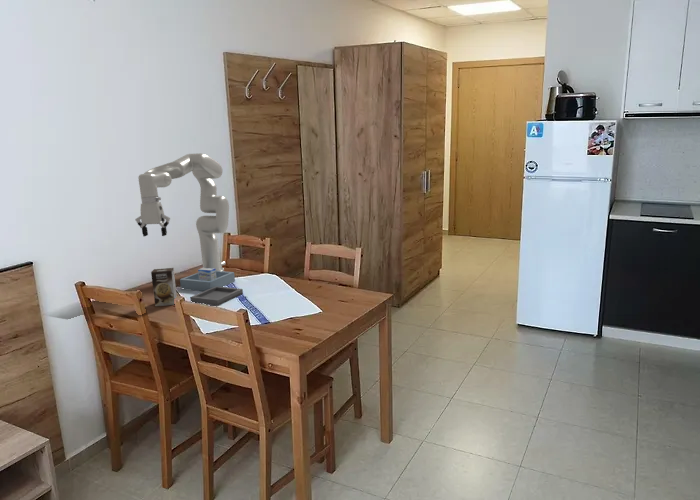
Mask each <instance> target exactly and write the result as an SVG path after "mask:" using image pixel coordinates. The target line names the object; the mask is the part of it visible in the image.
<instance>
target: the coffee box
mask: <svg viewBox="0 0 700 500" xmlns="http://www.w3.org/2000/svg"><path fill="white" fill-rule="evenodd" d="M174 269H175V268H174V267H167V268H154V269H153V270H151V271H150V275H151V283H152V290H153V298H154V305H155V306H154V307H163V306H174V299H175V298H176V297H177V288H176V278H175V270H174ZM177 298H178V297H177Z"/></svg>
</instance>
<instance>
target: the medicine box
mask: <svg viewBox="0 0 700 500" xmlns="http://www.w3.org/2000/svg"><path fill="white" fill-rule="evenodd" d="M197 273H198V274H199V280H202V281H211V280H214V279H216V269H213V268H203V267H201V268H199V269H197Z"/></svg>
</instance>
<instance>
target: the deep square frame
mask: <svg viewBox="0 0 700 500" xmlns="http://www.w3.org/2000/svg"><path fill="white" fill-rule="evenodd" d="M235 277H236V276H235V272H234V271H225V270H224V271H216V279H214V280H211V281H202V280H199V274H198V272H196V273H193V274H191V275H188V276H185V277H182V278H180V279H179V282H180V283H179V284H180V289H181V288H184V289H183V290H186V289H191V290H190V291H195V290H199V291H198V292H203V291H206V290H208V289H210V288H213V287H215V286H220V287H223V286H224V287H226V286H228V285H230V283H231V284H233V283H235V282H236V278H235ZM225 285H226V286H225Z"/></svg>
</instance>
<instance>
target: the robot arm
mask: <svg viewBox="0 0 700 500" xmlns="http://www.w3.org/2000/svg"><path fill="white" fill-rule="evenodd" d="M191 172H192V174H193V176H194V178H195V179H196V181H197V182H198V184H199V186H200V195H199V199H200V200H199V207H200V208H199V209H200V211H201V212H202V213H204V214H215V215H202V216H199V217H198V218H197V220H196V221H195V227H196V230H197V233H198V237H199V244H200V252H201V259H202V260H201V261H202V268H213V269H216V271H225V269H224V267H223V266H225V265H226V261H224V260H223V261H221V258H220V248H219V241H218V240H219V239H218V237H217V235H216V234H225V233H226V232H227V231H228V227H229V215H230V214H229V213H230V212H229V211H230V204H229V200H228V199H227V197H225V196H224V195H217V189H218V188H217V185H216V182H215V181H214V180H215V179H216V180H217V179H219V178H221V177H222V175H223V167H222V165H221V164H220V163H219V162H218V161H216V159H213V158H212V157H211V156H209V155H208V154H205V153H187V154H185V155H183V156H181V157H178V158H177V159H176V160H174V161H171V162H168V163H164V164H162V165H158V166H155V167H152V168H150V169H149V170H147V171H145V172H143V173H141V174H139V175H138V176H137V178H138V185H139V186H138V187H139V191H140V199H141V203H140V216H138V217H137V218H135V222H136V223H137V225H138V226H139V227H140V229H141V232H142V235H143V237H146V236H149V233H148V227H147V226H148V225H159V226H160V227H161V228H160V230H161V231H160V232H161V236H162V237H165V236H167V234H168V231H167V227H168V225H169V224H170V222H171V217H169V216H167V215H165V212H164V209H163V205H162V203H161V202H160V201H161V199H162V198H161V197H160V196H159V194H158V188H167V187H169V186H170V185H171V184H172V181H173V180H174V179H175V180H176V179H180V178H182V177H184V176H186V175H187V174H189V173H191Z"/></svg>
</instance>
